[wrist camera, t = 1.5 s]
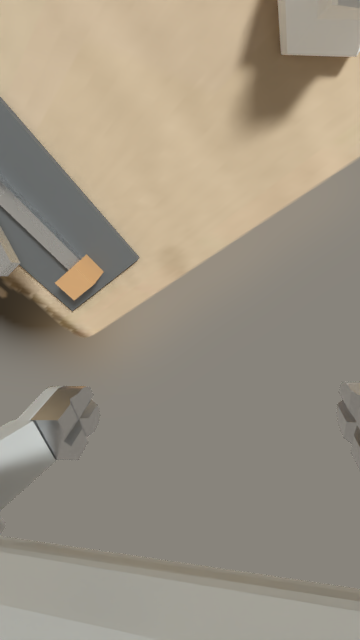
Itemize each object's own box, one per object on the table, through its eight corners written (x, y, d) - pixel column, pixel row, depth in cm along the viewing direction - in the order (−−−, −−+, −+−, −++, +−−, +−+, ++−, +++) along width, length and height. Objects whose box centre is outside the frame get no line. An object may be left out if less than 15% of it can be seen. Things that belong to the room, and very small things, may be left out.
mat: (-95, 158, 37) (-102, 159, 36) (-40, 51, 30) (-46, 48, 29) (74, 308, 50) (72, 311, 49) (139, 257, 43) (138, 259, 42)
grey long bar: (-85, 126, 34) (-120, 122, 30) (-68, 91, 32) (-103, 83, 28) (84, 287, 46) (74, 299, 42) (105, 270, 44) (96, 281, 40)
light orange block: (68, 270, 44) (54, 283, 40) (86, 254, 42) (74, 265, 38) (85, 286, 46) (74, 300, 42) (103, 271, 44) (93, 284, 40)
